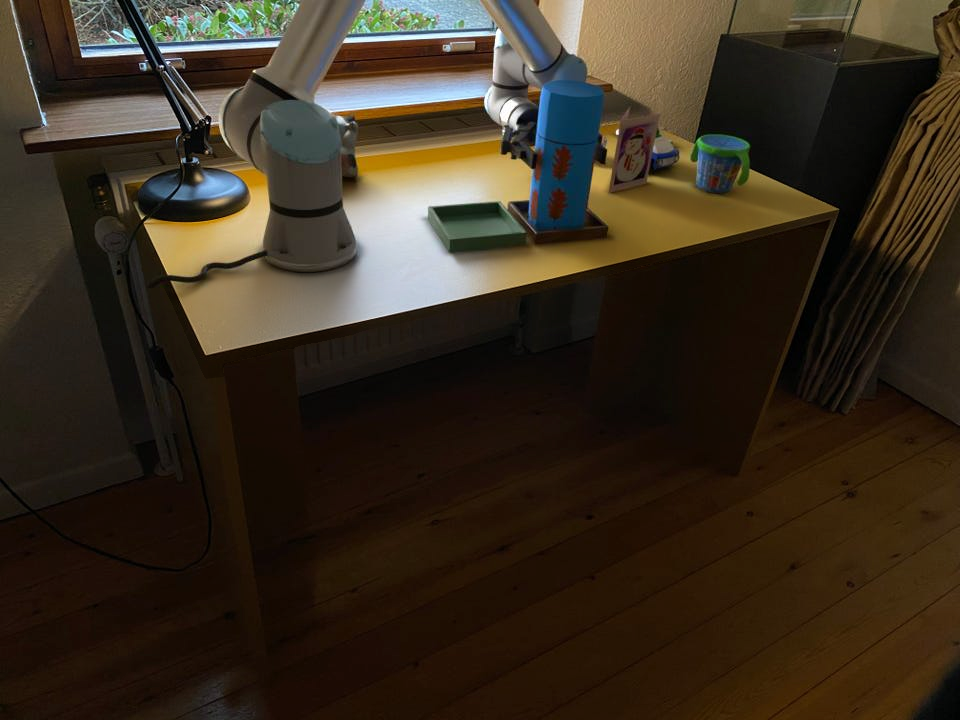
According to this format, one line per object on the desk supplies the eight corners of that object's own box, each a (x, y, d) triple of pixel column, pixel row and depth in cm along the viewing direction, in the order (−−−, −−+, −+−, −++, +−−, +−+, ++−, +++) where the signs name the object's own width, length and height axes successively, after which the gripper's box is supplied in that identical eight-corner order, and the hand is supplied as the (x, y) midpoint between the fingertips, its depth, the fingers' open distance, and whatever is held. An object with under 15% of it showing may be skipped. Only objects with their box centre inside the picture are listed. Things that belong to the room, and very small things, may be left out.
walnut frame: (534, 244, 131) (536, 233, 130) (507, 212, 142) (508, 201, 141) (607, 237, 135) (609, 226, 134) (574, 206, 146) (576, 196, 145)
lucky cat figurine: (279, 174, 150) (285, 105, 149) (327, 185, 159) (333, 120, 158) (322, 174, 141) (330, 99, 139) (371, 185, 150) (378, 116, 148)
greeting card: (611, 194, 153) (623, 122, 144) (587, 182, 158) (597, 111, 149) (649, 184, 159) (663, 114, 150) (624, 173, 163) (636, 105, 155)
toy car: (654, 177, 162) (663, 135, 157) (613, 161, 170) (620, 120, 164) (680, 170, 167) (689, 128, 162) (639, 154, 175) (646, 114, 169)
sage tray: (449, 252, 126) (449, 239, 125) (427, 218, 137) (428, 206, 136) (525, 245, 131) (527, 232, 129) (499, 213, 141) (500, 200, 140)
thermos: (581, 240, 134) (602, 100, 119) (523, 232, 135) (537, 92, 121) (586, 217, 142) (606, 84, 128) (532, 209, 144) (546, 77, 130)
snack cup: (672, 176, 164) (682, 131, 158) (712, 173, 167) (723, 128, 161) (713, 204, 152) (725, 156, 146) (755, 199, 155) (769, 152, 149)
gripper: (579, 138, 152) (628, 175, 135) (464, 144, 144) (502, 184, 128) (584, 100, 147) (636, 134, 131) (466, 105, 140) (505, 141, 124)
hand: (570, 159), depth 129 cm, fingers open, 13 cm apart
